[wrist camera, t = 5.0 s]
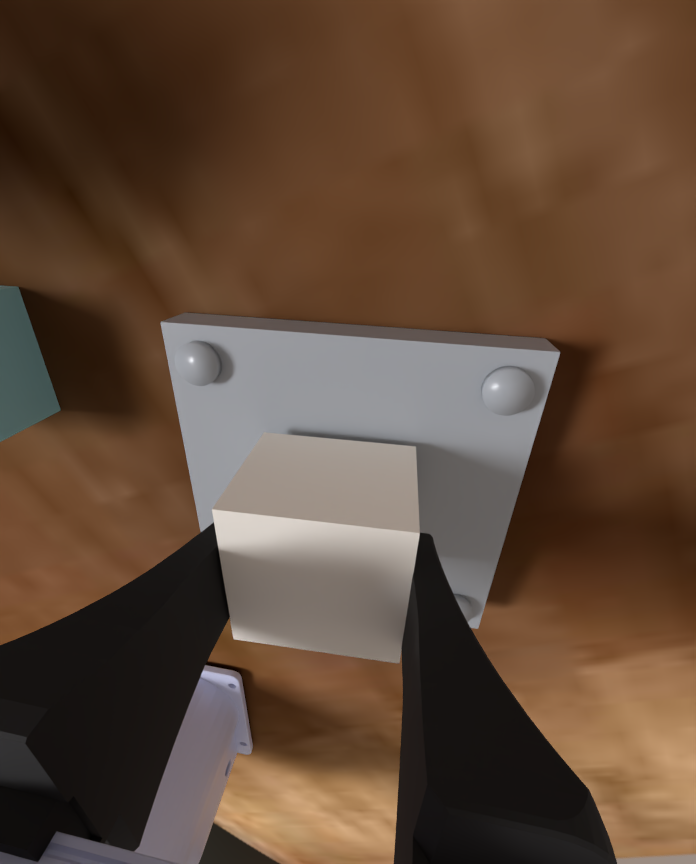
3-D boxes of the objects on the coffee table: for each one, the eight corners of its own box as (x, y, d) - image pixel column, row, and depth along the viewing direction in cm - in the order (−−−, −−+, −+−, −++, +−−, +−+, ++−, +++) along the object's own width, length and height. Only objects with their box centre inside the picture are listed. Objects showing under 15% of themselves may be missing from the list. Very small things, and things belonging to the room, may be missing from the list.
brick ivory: (400, 559, 15) (398, 663, 11) (272, 544, 15) (233, 638, 12) (415, 446, 12) (419, 533, 9) (263, 432, 13) (211, 509, 9)
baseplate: (473, 599, 18) (478, 637, 16) (224, 560, 19) (207, 592, 18) (545, 338, 12) (565, 356, 11) (185, 312, 14) (152, 324, 12)
